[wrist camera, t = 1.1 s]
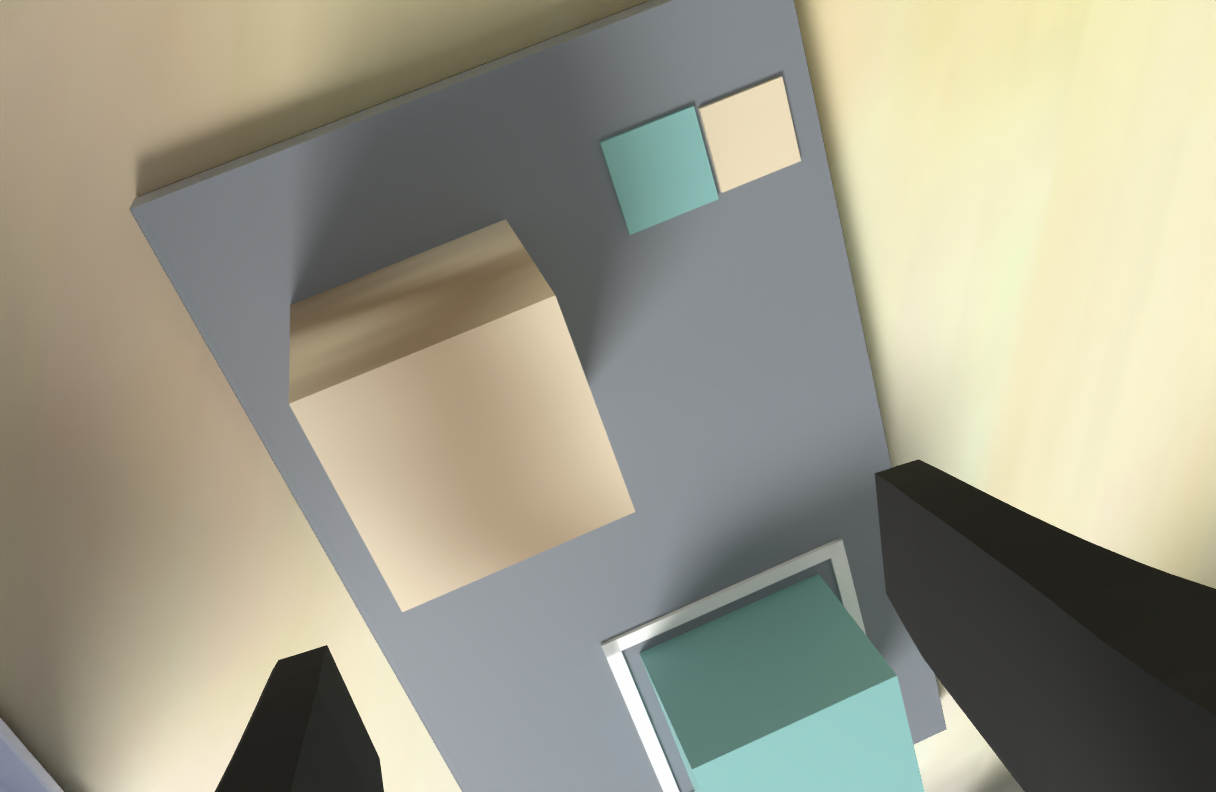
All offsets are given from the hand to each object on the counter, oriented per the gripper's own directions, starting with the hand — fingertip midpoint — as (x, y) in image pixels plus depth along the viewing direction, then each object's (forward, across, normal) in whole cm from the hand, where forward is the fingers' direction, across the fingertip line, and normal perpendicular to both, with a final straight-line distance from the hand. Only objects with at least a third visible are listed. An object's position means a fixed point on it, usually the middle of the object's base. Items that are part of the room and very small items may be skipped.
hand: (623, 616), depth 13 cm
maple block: (+10, +2, 0) cm, 10 cm away
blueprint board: (+10, -1, +6) cm, 12 cm away
